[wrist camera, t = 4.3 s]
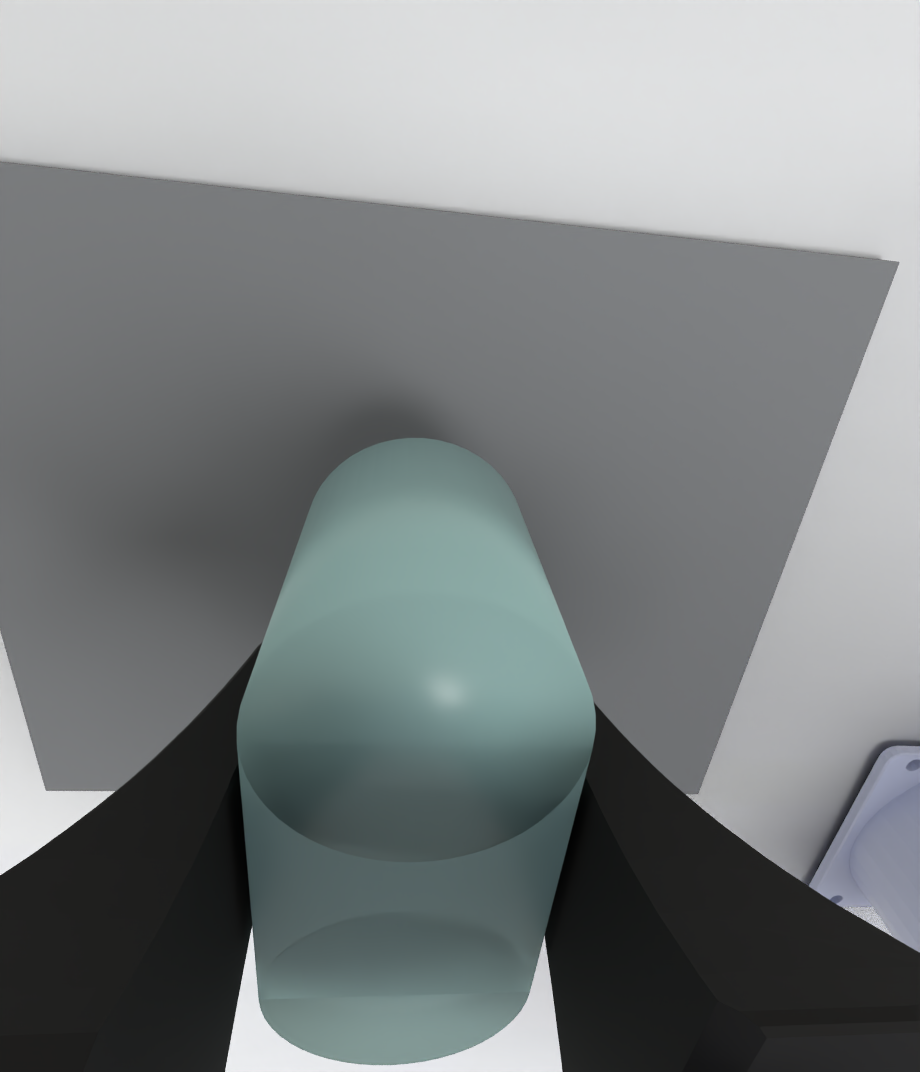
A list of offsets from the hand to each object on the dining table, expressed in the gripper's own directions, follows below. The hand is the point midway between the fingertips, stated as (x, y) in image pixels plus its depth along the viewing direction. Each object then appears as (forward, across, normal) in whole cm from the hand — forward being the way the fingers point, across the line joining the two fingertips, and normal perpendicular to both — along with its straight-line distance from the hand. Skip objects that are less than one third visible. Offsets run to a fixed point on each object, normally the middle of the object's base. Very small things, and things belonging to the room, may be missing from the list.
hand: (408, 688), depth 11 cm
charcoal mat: (+5, 0, 0) cm, 5 cm away
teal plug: (+1, 0, +1) cm, 2 cm away
